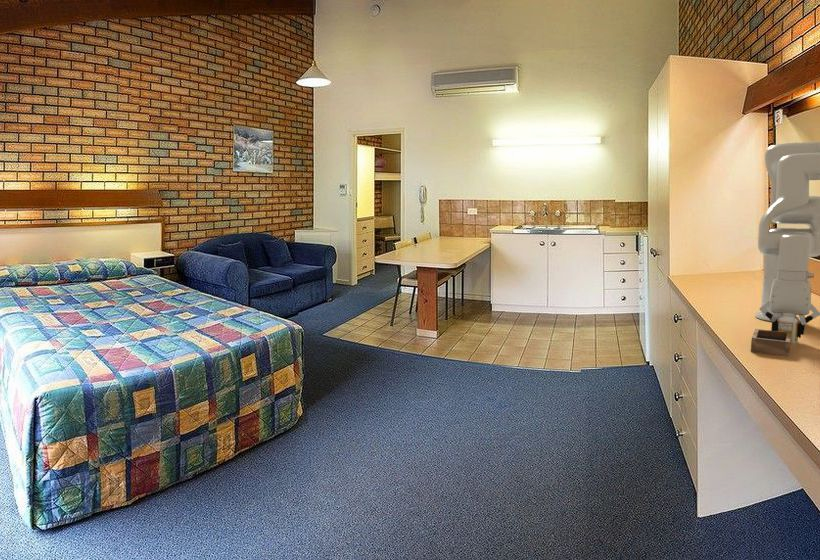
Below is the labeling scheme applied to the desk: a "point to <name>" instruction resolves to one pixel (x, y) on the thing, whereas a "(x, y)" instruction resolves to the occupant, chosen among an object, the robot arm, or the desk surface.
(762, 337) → the walled box
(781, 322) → the supplement bottle
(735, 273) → the desk surface
